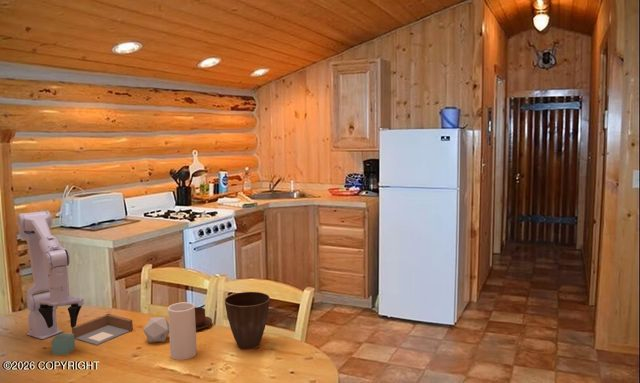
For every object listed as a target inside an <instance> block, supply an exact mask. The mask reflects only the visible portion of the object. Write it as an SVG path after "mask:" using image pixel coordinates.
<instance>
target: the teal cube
mask: <svg viewBox="0 0 640 383" xmlns="http://www.w3.org/2000/svg"><path fill="white" fill-rule="evenodd" d="M75 340H76V339H74V334H72V333H58V334H56V335H55V337H54V338H52V339H51V350H52V351H51V353H52V355H55V356H56V355H69V354H70V353H71V352H72V351H73V350H74V349H75V348H76V342H75Z"/></svg>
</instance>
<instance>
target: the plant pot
mask: <svg viewBox="0 0 640 383" xmlns="http://www.w3.org/2000/svg"><path fill="white" fill-rule="evenodd" d="M270 299H271V297H270V296H269V294H267V293H264V292H259V291H258V292H257V291H244V292H237V293H232V294H230V295H228V296H227V297H225V298H224V305H225V311H226V316H227V319H228V323H229V327H230V331H231V333H232V335H233V338H234V341H235V343H236V346H237V347H238V348H239V349H243V350H251V349H255V348H257V347H259V345H260V344H261V341H262V338H263V335H264V332H265V329H266V324H267V321H268V315H269V308H270Z"/></svg>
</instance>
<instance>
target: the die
mask: <svg viewBox="0 0 640 383" xmlns="http://www.w3.org/2000/svg"><path fill="white" fill-rule="evenodd" d="M142 332H143V333H144V335H145V336H146V339H147V341H148V342H149V343H165V341H166V340H167V337H168V336H169V320H167V317H165V316H163V317H160V316H158V317H150V319H148V321H147V323H146V324H145V326H144V328H143V330H142Z"/></svg>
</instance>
